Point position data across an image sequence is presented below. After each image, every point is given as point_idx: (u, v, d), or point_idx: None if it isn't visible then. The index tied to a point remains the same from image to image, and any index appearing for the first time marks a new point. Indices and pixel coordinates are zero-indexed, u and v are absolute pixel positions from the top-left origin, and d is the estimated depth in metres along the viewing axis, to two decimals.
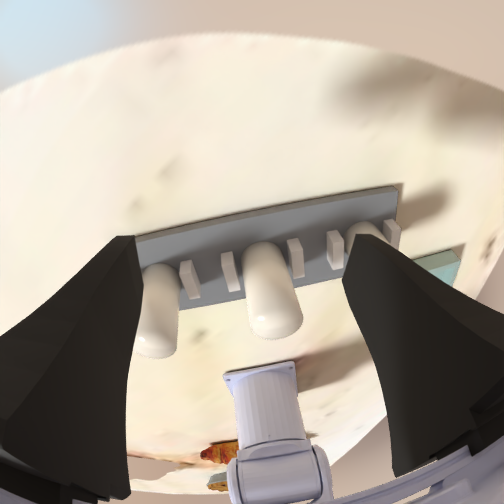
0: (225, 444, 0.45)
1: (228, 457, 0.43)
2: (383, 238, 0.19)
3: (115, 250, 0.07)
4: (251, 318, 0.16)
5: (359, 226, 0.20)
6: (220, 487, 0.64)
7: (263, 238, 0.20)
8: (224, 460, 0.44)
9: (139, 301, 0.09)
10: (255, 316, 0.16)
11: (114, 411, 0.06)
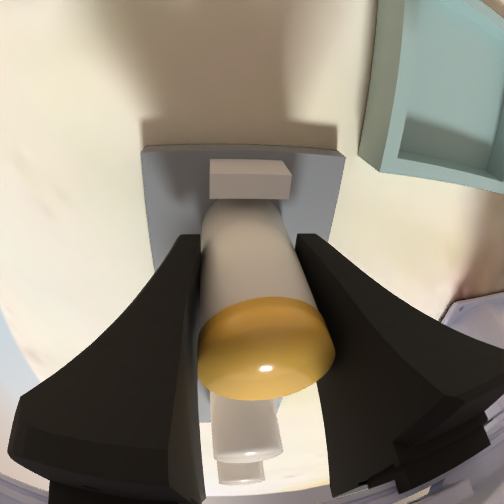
0: None
1: None
2: (206, 245, 0.09)
3: (189, 249, 0.08)
4: None
5: None
6: None
7: None
8: None
9: None
10: (226, 462, 0.11)
11: (196, 415, 0.06)
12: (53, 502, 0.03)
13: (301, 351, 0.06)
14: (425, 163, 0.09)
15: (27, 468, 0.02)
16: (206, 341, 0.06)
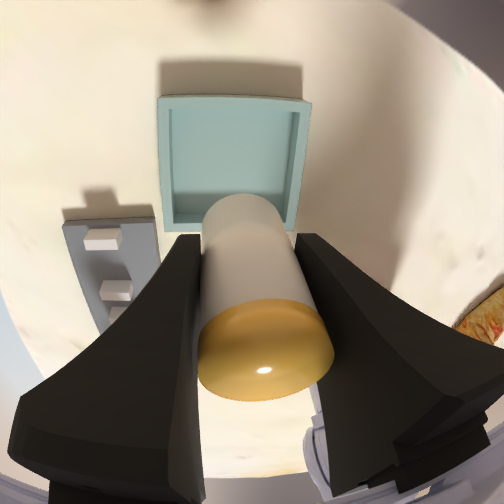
0: None
1: None
2: (208, 244, 0.09)
3: (189, 249, 0.08)
4: None
5: None
6: None
7: None
8: None
9: None
10: None
11: (196, 414, 0.06)
12: (53, 502, 0.03)
13: (302, 353, 0.06)
14: (195, 223, 0.18)
15: (27, 468, 0.02)
16: (209, 340, 0.06)
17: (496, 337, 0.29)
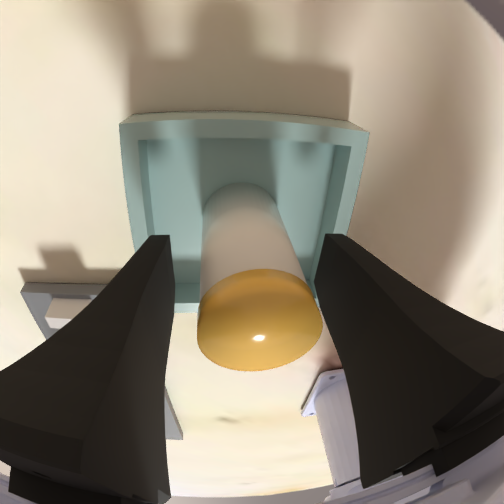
0: None
1: None
2: (209, 226, 0.10)
3: (154, 249, 0.07)
4: None
5: None
6: None
7: None
8: None
9: (173, 301, 0.09)
10: None
11: (157, 414, 0.06)
12: (13, 487, 0.02)
13: (293, 320, 0.07)
14: (190, 302, 0.13)
15: None
16: (208, 305, 0.07)
17: None
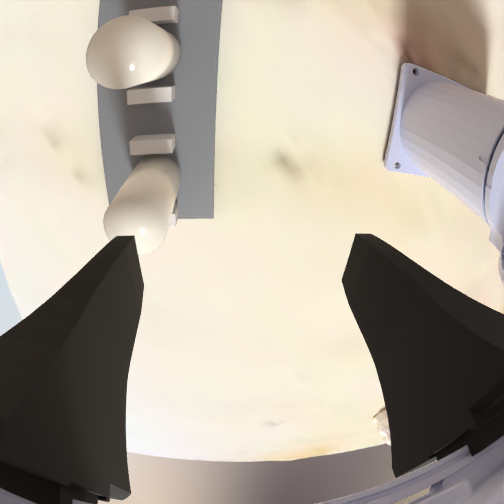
0: None
1: None
2: None
3: (115, 250, 0.07)
4: (107, 86, 0.09)
5: None
6: None
7: None
8: None
9: (139, 301, 0.09)
10: (98, 82, 0.09)
11: (114, 410, 0.06)
12: None
13: None
14: None
15: None
16: None
17: None
